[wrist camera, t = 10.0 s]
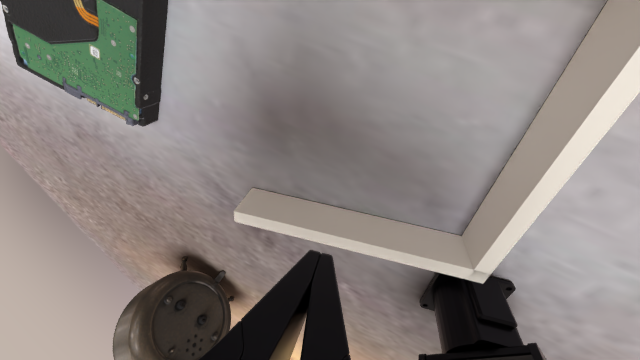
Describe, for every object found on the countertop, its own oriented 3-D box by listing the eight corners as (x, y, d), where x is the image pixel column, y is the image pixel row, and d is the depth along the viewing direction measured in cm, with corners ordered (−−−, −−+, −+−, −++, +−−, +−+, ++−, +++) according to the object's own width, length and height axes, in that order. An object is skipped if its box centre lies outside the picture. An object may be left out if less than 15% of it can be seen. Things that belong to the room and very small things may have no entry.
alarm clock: (172, 254, 32) (23, 417, 19) (193, 241, 30) (39, 418, 17) (232, 302, 36) (141, 469, 22) (255, 294, 33) (169, 477, 20)
